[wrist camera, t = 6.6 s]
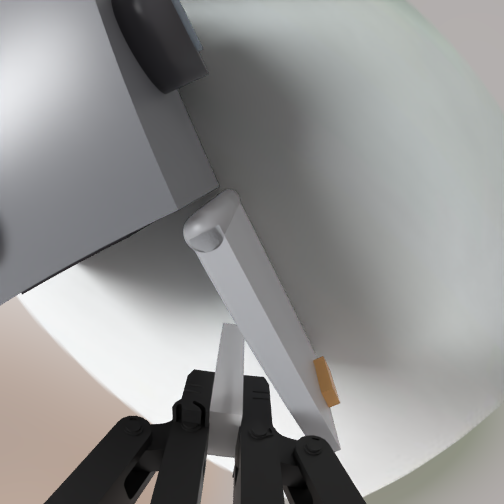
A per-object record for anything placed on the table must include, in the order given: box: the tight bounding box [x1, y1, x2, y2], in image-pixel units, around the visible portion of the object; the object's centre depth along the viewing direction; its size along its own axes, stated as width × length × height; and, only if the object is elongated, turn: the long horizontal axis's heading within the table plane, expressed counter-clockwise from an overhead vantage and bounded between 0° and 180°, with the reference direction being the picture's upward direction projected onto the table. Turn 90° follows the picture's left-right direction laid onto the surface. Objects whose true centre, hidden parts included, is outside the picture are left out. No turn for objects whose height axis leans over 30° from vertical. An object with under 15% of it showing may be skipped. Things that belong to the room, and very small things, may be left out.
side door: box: [183, 189, 341, 452], centre depth 14 cm, size 2×12×8 cm, turn 26°
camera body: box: [0, 0, 219, 305], centre depth 11 cm, size 12×13×10 cm
